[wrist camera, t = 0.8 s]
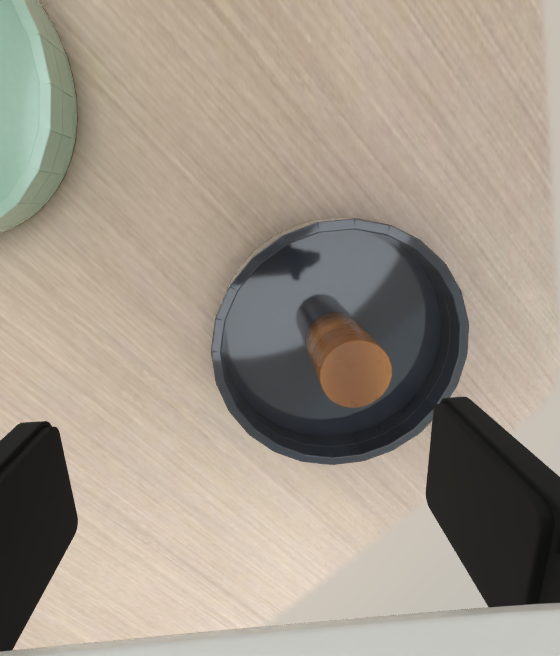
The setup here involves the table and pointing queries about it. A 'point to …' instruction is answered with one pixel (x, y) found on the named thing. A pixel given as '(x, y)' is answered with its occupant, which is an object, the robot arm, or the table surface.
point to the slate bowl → (361, 304)
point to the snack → (347, 360)
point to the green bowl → (32, 111)
